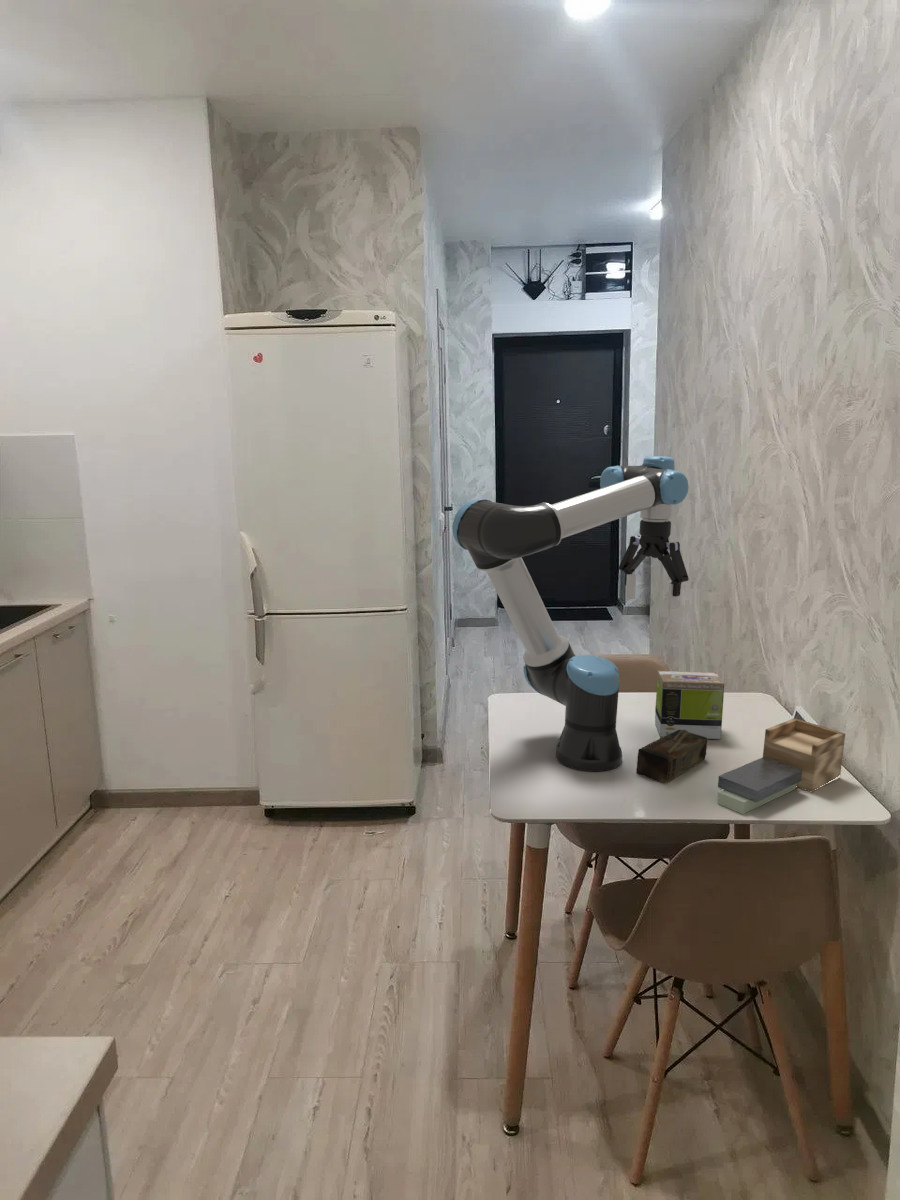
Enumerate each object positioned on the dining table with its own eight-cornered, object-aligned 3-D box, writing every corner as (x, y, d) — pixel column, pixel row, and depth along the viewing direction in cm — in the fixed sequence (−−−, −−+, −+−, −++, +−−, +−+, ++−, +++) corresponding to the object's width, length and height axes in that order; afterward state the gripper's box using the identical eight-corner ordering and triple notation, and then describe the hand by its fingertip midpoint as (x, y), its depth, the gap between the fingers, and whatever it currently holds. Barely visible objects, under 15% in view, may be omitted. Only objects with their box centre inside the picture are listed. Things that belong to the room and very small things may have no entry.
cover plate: (756, 802, 172) (757, 790, 172) (717, 787, 179) (718, 776, 179) (800, 781, 183) (802, 770, 182) (762, 767, 190) (763, 756, 189)
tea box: (712, 726, 221) (717, 671, 218) (720, 740, 212) (726, 683, 208) (653, 723, 223) (657, 668, 220) (658, 737, 213) (663, 680, 210)
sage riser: (742, 814, 173) (744, 802, 172) (717, 803, 177) (718, 792, 177) (796, 788, 185) (797, 777, 185) (770, 779, 190) (771, 768, 189)
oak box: (811, 792, 183) (816, 746, 181) (761, 773, 193) (765, 729, 190) (839, 778, 191) (845, 733, 189) (789, 760, 200) (794, 718, 198)
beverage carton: (707, 761, 200) (709, 734, 198) (666, 786, 186) (668, 758, 184) (676, 751, 205) (678, 725, 203) (634, 775, 191) (635, 747, 190)
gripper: (707, 524, 204) (700, 610, 209) (627, 513, 224) (623, 593, 229) (687, 526, 200) (681, 615, 205) (607, 515, 219) (603, 596, 224)
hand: (650, 603), depth 217 cm, fingers open, 13 cm apart
